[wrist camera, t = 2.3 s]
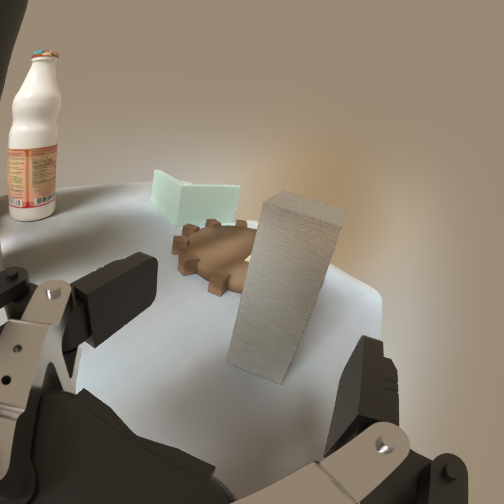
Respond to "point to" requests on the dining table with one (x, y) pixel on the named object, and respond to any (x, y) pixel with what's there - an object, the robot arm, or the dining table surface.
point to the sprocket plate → (216, 254)
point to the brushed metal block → (282, 282)
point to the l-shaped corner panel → (193, 201)
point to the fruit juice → (34, 141)
